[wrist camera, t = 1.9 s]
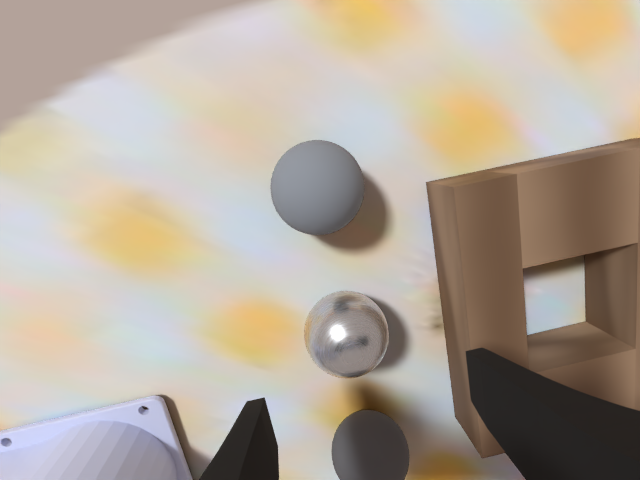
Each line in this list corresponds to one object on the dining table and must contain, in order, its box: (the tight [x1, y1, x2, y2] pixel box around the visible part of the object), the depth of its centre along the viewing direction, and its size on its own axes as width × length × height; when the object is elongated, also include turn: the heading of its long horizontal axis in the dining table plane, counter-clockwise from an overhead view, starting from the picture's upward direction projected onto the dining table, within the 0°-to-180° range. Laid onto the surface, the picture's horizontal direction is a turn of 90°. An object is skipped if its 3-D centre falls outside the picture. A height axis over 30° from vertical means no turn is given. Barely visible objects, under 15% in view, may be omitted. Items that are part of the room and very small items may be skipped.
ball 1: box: [271, 140, 364, 235], centre depth 15 cm, size 4×4×4 cm
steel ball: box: [304, 291, 389, 378], centre depth 17 cm, size 4×4×4 cm
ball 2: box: [332, 410, 409, 480], centre depth 19 cm, size 4×4×4 cm
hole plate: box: [426, 138, 640, 458], centre depth 18 cm, size 11×14×3 cm
